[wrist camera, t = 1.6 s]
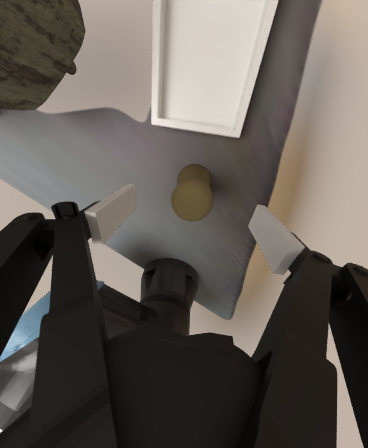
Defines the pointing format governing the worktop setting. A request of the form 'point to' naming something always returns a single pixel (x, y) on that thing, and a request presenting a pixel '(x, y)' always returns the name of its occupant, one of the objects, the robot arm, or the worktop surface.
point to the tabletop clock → (36, 49)
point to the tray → (207, 62)
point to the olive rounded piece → (192, 193)
